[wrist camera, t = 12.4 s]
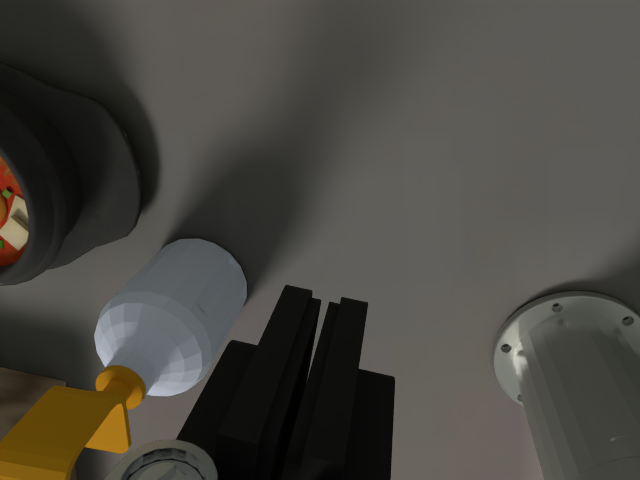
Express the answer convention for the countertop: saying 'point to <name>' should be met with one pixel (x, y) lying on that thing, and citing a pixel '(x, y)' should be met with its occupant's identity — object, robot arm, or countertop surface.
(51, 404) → the soap bottle
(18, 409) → the open wooden box
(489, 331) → the countertop surface
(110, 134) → the casserole
